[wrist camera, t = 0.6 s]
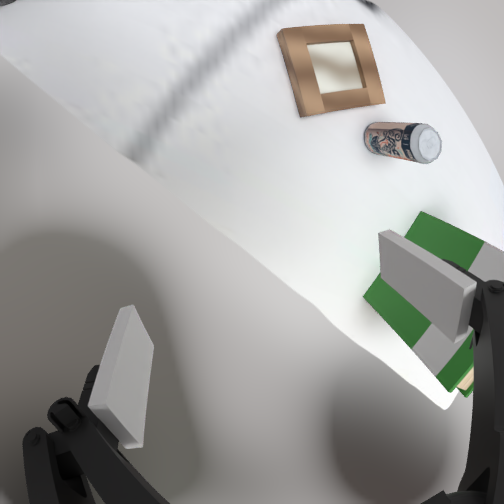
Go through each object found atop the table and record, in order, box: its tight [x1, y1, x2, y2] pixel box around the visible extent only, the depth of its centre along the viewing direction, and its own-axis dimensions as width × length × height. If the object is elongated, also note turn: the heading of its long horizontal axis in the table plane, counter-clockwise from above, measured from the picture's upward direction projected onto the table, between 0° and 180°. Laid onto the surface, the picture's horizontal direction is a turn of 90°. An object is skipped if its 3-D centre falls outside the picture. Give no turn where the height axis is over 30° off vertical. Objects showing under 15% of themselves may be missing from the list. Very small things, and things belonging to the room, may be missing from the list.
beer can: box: [365, 122, 442, 164], centre depth 34 cm, size 5×5×12 cm
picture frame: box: [277, 24, 385, 117], centre depth 33 cm, size 12×12×3 cm
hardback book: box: [363, 211, 504, 397], centre depth 37 cm, size 18×7×24 cm, turn 147°
